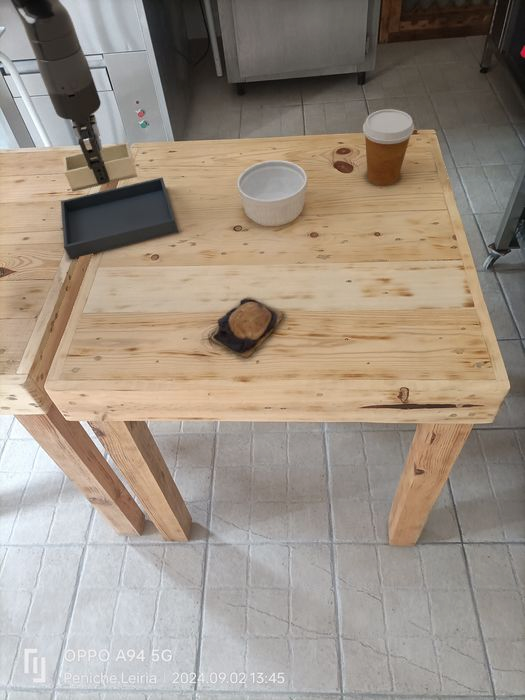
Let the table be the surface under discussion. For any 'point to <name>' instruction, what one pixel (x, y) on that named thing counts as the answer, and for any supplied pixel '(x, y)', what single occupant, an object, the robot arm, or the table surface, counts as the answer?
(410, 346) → the table surface
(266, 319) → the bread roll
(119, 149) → the beige open box
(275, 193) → the ramekin
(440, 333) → the table surface
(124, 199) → the tray
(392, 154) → the disposable coffee cup
